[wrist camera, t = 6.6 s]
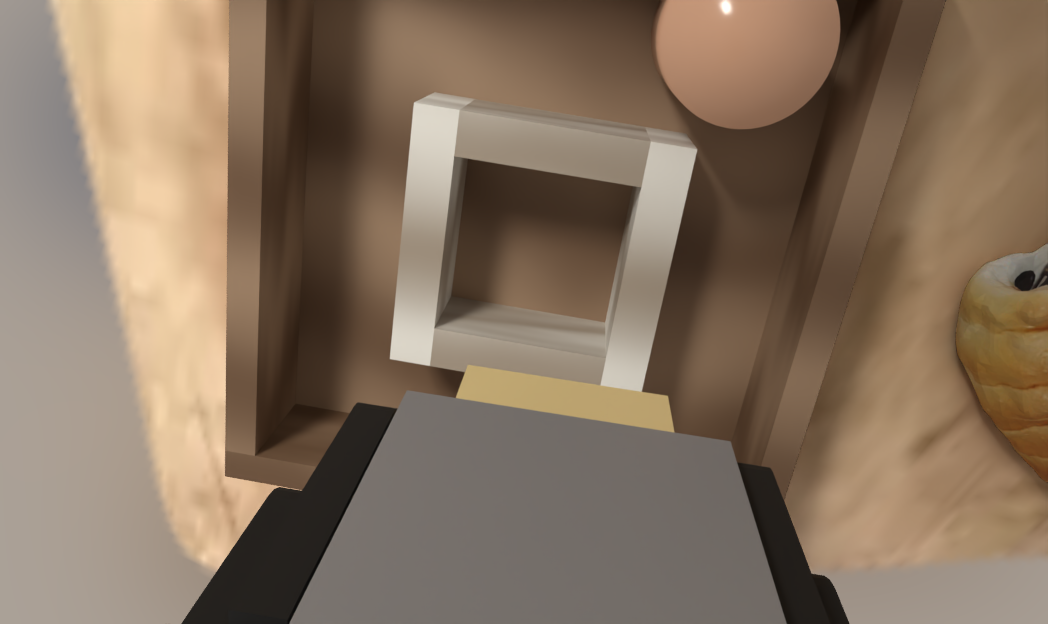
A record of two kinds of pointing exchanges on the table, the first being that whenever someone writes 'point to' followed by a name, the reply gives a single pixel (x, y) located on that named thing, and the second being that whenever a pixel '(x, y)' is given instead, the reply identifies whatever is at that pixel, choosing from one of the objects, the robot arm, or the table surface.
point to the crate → (536, 216)
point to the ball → (744, 56)
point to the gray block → (544, 516)
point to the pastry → (1010, 349)
